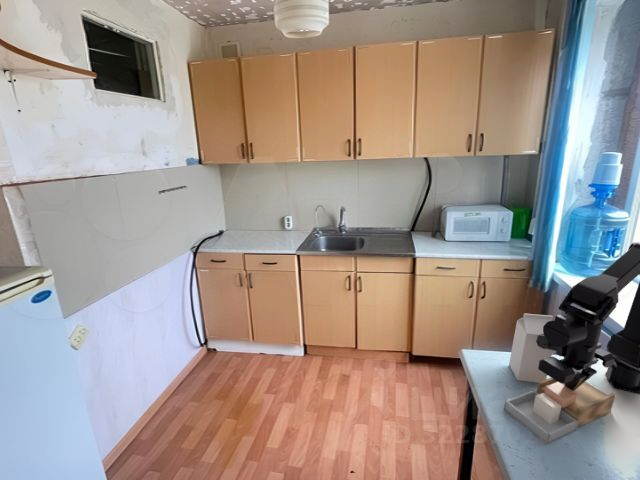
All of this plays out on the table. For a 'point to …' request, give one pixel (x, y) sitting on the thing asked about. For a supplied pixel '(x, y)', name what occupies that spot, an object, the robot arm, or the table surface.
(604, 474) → the table surface
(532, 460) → the table surface
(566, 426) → the tray
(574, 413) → the wooden box
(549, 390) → the tile
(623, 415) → the table surface
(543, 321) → the milk carton
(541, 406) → the tile
